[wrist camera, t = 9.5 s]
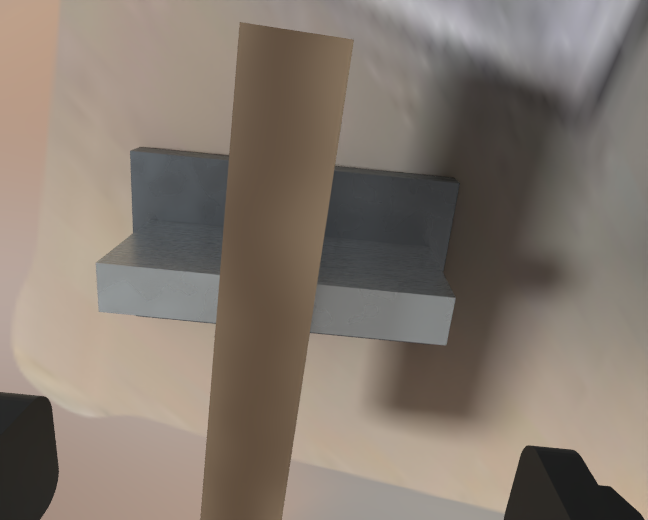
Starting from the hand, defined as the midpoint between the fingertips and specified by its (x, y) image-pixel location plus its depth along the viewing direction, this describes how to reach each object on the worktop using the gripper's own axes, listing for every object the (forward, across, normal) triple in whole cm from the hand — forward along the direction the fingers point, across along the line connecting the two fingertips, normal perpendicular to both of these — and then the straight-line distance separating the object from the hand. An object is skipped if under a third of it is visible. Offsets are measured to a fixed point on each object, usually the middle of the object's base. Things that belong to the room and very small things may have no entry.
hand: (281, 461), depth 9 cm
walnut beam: (+14, +2, +4) cm, 15 cm away
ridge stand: (+23, +2, +4) cm, 23 cm away
